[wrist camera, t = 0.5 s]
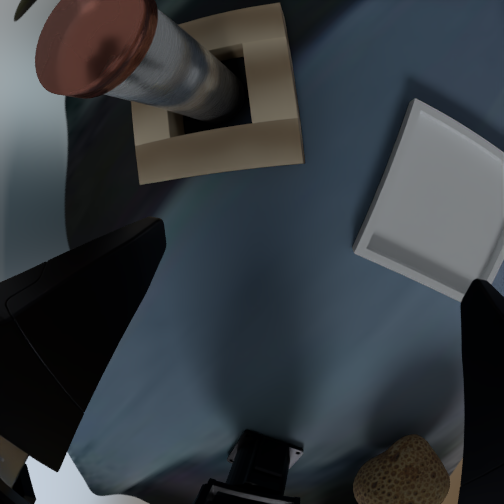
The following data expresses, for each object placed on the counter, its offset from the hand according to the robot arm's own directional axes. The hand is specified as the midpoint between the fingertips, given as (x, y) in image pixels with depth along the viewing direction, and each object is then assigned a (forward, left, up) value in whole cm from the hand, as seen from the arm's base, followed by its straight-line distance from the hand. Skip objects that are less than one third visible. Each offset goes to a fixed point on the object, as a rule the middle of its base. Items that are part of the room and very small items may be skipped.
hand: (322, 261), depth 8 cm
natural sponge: (-19, -18, -14) cm, 29 cm away
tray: (+3, -9, -13) cm, 16 cm away
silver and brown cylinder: (+4, +9, -13) cm, 17 cm away
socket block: (+4, +9, -13) cm, 17 cm away
